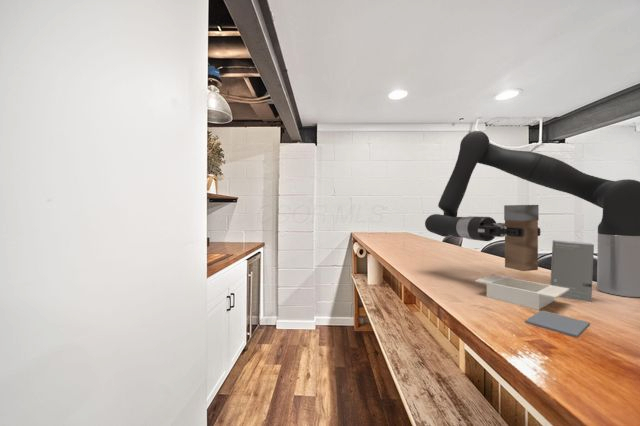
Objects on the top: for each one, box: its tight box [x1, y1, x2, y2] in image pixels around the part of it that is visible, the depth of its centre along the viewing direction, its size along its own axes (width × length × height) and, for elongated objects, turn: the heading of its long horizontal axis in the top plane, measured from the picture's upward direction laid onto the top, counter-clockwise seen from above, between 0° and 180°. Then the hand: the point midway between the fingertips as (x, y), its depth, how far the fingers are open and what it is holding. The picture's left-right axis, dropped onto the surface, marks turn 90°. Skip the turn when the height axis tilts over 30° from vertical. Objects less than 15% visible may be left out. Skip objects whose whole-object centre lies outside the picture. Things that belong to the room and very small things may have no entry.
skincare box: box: [549, 239, 595, 303], centre depth 73 cm, size 8×7×16 cm
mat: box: [524, 309, 590, 339], centre depth 55 cm, size 10×8×1 cm
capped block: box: [503, 204, 540, 272], centre depth 70 cm, size 5×5×17 cm
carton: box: [474, 274, 570, 311], centre depth 70 cm, size 11×17×4 cm, turn 35°
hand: (531, 232), depth 68 cm, fingers closed on capped block, 5 cm apart
